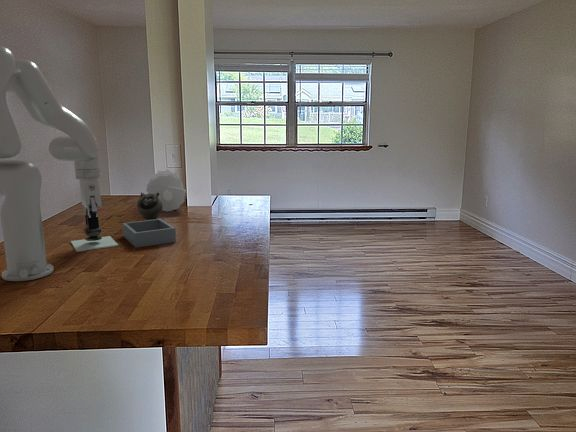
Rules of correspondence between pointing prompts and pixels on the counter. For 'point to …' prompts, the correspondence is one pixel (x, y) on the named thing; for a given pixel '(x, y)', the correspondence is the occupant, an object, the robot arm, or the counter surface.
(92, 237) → the stone chess piece
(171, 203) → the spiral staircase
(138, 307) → the counter surface
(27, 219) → the robot arm
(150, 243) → the crate
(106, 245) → the mat
